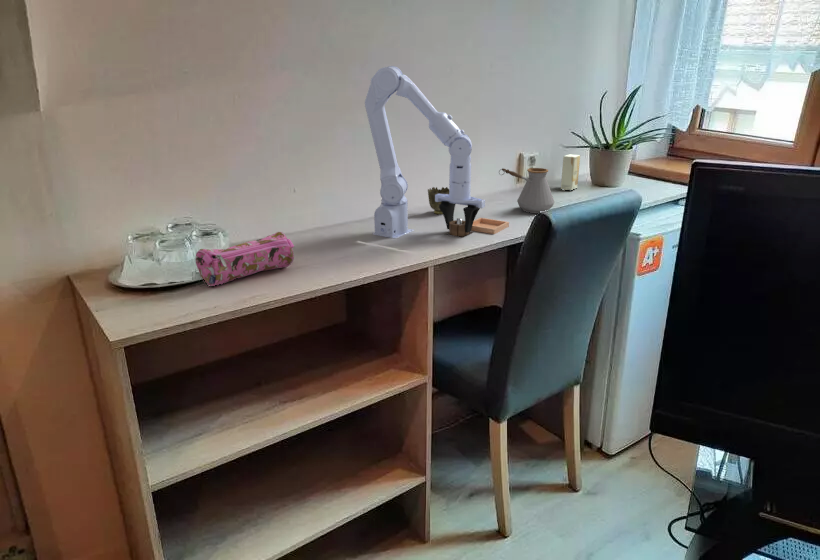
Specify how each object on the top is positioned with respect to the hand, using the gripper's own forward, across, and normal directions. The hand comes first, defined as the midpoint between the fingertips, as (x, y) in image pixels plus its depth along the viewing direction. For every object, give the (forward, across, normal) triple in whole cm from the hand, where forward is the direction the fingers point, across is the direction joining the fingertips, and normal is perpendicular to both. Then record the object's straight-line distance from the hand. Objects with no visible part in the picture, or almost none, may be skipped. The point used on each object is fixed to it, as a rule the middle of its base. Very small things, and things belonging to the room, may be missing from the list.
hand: (459, 230), depth 171 cm
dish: (+1, -4, -9) cm, 10 cm away
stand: (+1, 0, 0) cm, 1 cm away
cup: (+2, +16, -16) cm, 23 cm away
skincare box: (+2, -5, -71) cm, 71 cm away
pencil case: (+2, +25, +54) cm, 59 cm away
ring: (+1, 0, 0) cm, 1 cm away
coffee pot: (+2, -5, -32) cm, 32 cm away
